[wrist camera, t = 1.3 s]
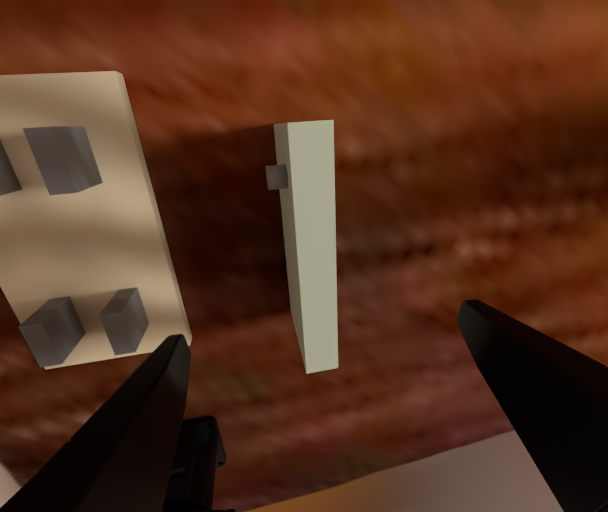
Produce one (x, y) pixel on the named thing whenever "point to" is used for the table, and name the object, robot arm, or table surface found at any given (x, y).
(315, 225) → the door panel
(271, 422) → the table surface
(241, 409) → the table surface
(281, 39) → the table surface
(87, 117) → the hinge base
